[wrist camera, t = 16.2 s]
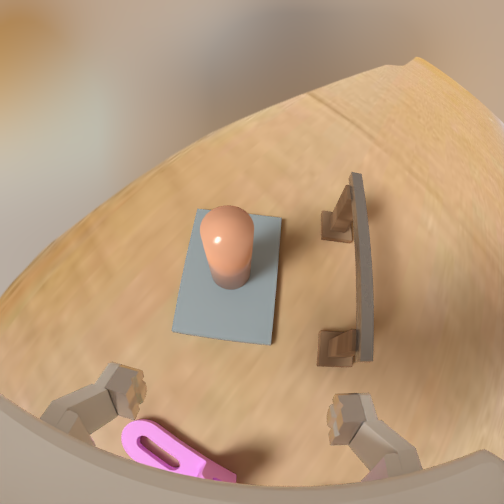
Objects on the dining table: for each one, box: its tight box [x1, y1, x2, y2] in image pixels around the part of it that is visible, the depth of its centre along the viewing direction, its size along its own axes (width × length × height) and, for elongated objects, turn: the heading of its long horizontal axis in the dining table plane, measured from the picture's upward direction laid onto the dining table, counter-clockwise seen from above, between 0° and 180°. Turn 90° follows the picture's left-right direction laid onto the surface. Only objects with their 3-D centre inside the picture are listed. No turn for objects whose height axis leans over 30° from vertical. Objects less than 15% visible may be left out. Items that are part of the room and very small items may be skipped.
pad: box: [172, 209, 281, 345], centre depth 33 cm, size 11×16×1 cm
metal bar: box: [349, 172, 374, 362], centre depth 26 cm, size 1×20×1 cm, turn 174°
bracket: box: [121, 419, 236, 483], centre depth 21 cm, size 13×6×7 cm, turn 56°
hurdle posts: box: [317, 185, 356, 367], centre depth 30 cm, size 4×20×8 cm, turn 174°
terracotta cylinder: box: [200, 205, 254, 290], centre depth 28 cm, size 5×5×10 cm
